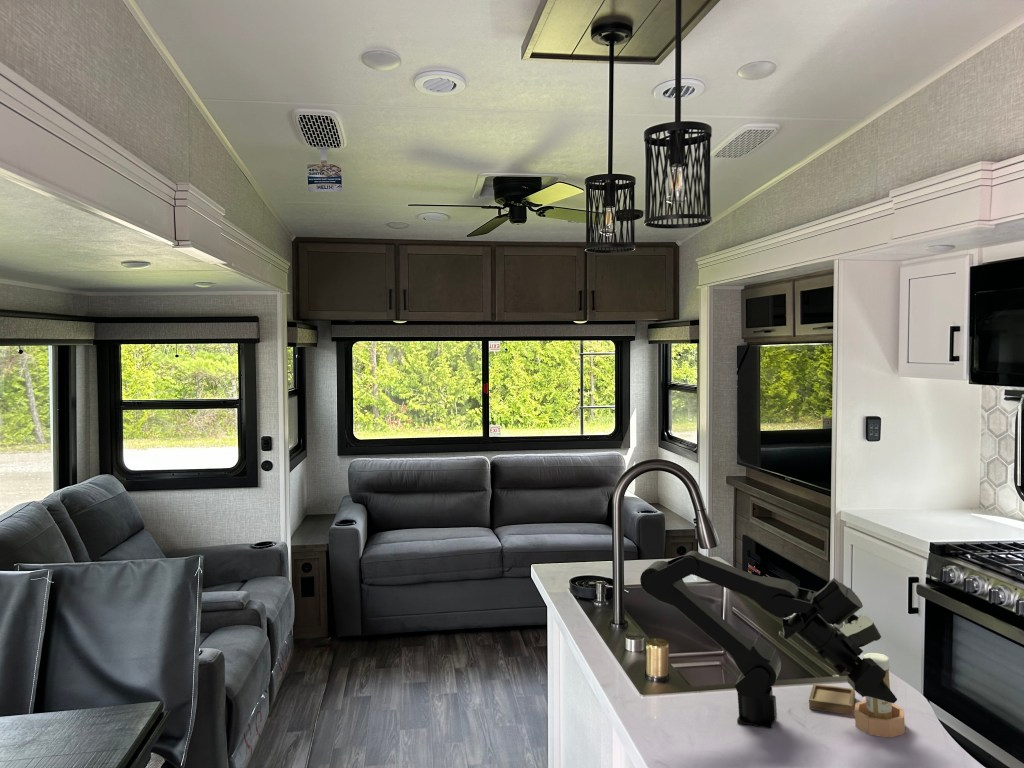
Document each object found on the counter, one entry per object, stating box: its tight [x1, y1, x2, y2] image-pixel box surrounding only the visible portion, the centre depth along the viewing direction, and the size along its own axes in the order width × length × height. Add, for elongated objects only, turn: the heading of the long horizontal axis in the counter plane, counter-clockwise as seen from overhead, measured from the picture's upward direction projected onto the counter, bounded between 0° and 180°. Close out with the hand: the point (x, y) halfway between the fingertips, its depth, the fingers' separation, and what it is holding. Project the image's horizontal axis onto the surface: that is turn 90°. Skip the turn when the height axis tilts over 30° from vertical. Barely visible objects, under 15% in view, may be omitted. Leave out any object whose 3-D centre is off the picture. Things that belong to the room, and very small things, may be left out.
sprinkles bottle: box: [862, 652, 892, 720], centre depth 143 cm, size 5×5×13 cm
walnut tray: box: [808, 683, 856, 716], centre depth 153 cm, size 8×8×2 cm
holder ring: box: [854, 700, 906, 738], centre depth 143 cm, size 8×8×3 cm
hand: (884, 690), depth 143 cm, fingers open, 9 cm apart
